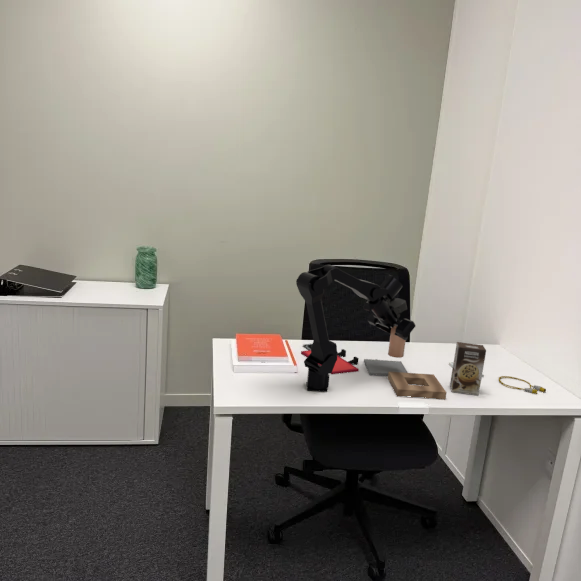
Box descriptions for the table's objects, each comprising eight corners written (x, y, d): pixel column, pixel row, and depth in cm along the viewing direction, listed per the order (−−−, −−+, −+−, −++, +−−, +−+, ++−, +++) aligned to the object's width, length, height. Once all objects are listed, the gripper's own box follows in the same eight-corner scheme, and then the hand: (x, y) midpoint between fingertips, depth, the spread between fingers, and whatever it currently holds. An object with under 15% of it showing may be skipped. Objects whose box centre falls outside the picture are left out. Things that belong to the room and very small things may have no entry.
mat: (369, 375, 217) (370, 372, 217) (363, 361, 231) (364, 358, 231) (409, 377, 218) (409, 374, 218) (400, 363, 231) (401, 361, 231)
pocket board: (396, 396, 200) (397, 389, 199) (387, 378, 215) (388, 371, 215) (445, 399, 201) (446, 392, 200) (432, 381, 216) (433, 374, 216)
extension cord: (519, 396, 210) (520, 391, 210) (491, 379, 225) (492, 374, 224) (548, 395, 214) (549, 389, 213) (519, 378, 228) (520, 373, 228)
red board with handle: (324, 344, 248) (291, 348, 241) (325, 337, 247) (292, 341, 240) (367, 371, 222) (331, 376, 215) (367, 364, 221) (332, 369, 214)
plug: (393, 358, 216) (398, 325, 213) (384, 353, 221) (389, 320, 218) (406, 357, 219) (411, 324, 216) (397, 352, 223) (401, 320, 221)
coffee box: (451, 392, 207) (458, 346, 204) (449, 385, 214) (456, 341, 210) (479, 395, 206) (486, 350, 203) (476, 388, 213) (483, 344, 209)
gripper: (415, 298, 205) (433, 327, 214) (377, 285, 220) (396, 313, 228) (395, 323, 202) (414, 351, 211) (358, 308, 217) (377, 335, 226)
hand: (400, 336), depth 219 cm, fingers closed on plug, 5 cm apart
